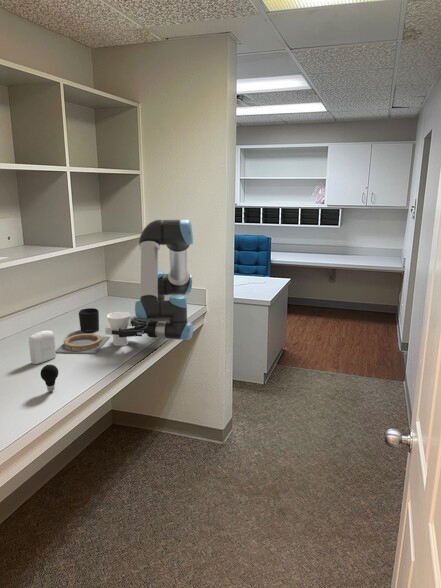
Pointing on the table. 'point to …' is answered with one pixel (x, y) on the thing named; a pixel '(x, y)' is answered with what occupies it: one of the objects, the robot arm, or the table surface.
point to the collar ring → (85, 346)
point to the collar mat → (82, 342)
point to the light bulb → (49, 376)
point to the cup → (119, 325)
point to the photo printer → (42, 347)
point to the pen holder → (89, 320)
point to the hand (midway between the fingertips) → (111, 326)
